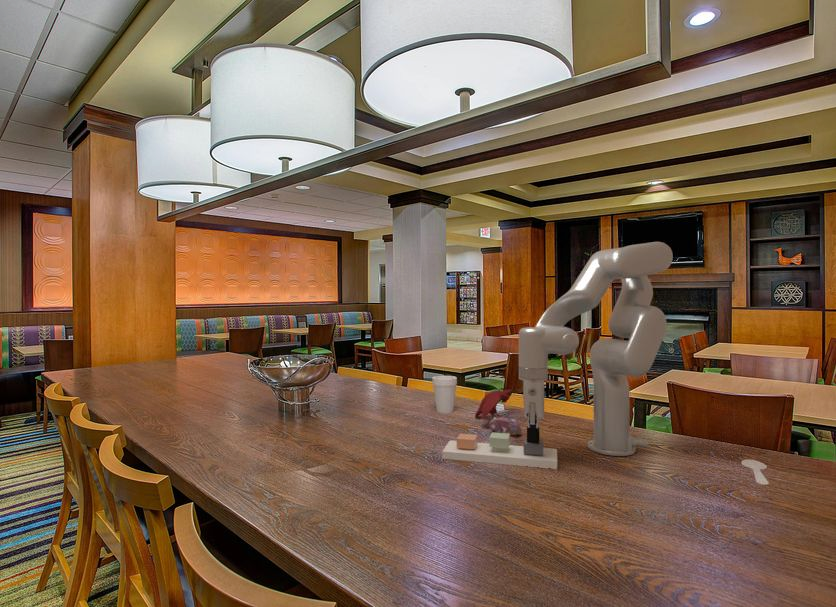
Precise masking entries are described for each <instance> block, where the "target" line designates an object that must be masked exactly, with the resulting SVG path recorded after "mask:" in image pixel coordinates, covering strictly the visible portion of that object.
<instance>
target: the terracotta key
mask: <svg viewBox="0 0 836 607" xmlns="http://www.w3.org/2000/svg"><path fill="white" fill-rule="evenodd" d="M478 440H479V438H478V434H474V433H473V434H471V433H459V435H458V436H457V437H456V441H457V448H465V449H475V448H476V446H477V444H478V443H479V442H478Z"/></svg>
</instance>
